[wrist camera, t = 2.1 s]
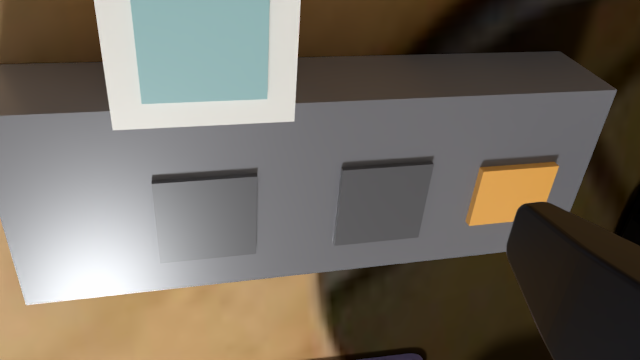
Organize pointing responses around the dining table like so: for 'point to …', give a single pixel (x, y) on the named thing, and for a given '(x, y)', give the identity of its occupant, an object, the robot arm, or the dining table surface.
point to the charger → (199, 61)
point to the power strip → (289, 172)
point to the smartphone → (397, 357)
